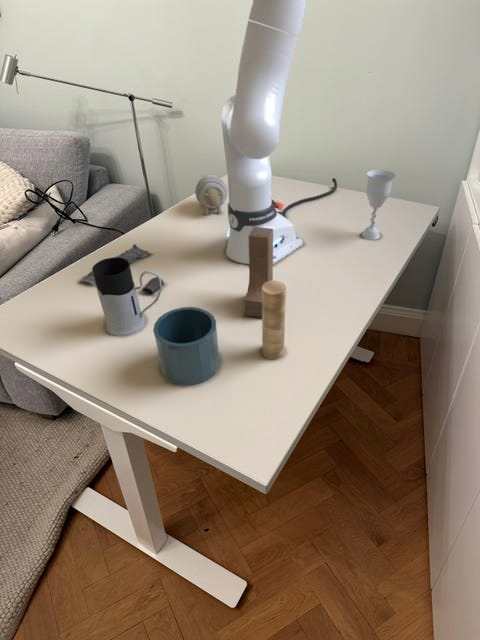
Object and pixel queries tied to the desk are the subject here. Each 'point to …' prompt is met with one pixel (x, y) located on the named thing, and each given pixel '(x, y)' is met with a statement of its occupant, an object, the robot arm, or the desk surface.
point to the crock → (187, 345)
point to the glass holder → (120, 296)
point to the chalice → (377, 197)
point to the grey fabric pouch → (127, 255)
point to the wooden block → (258, 268)
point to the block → (152, 285)
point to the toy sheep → (211, 192)
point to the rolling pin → (273, 319)
